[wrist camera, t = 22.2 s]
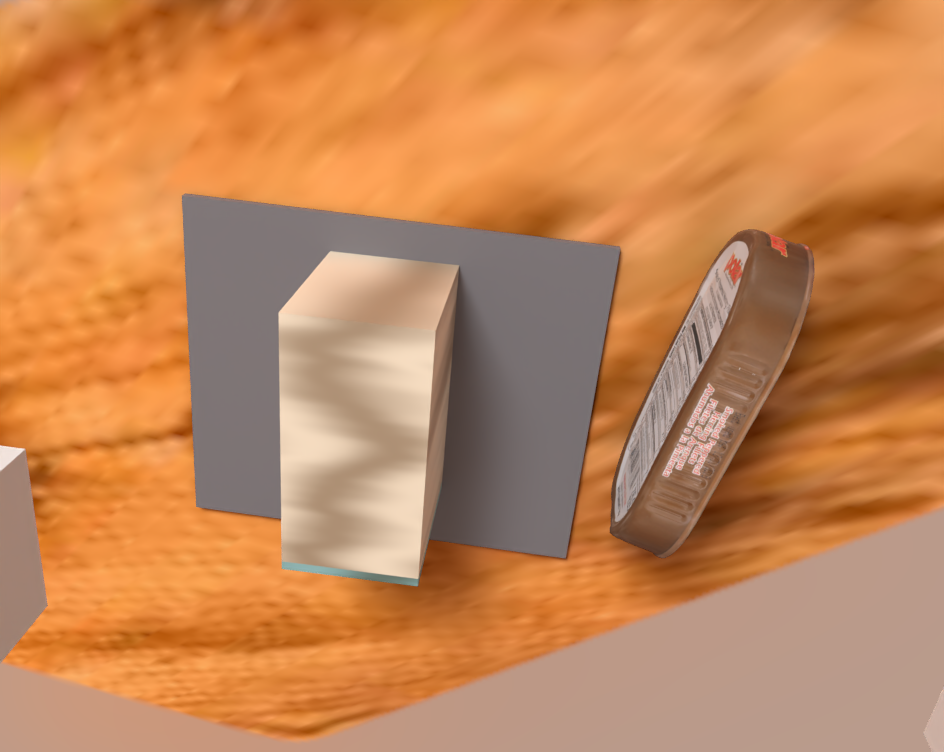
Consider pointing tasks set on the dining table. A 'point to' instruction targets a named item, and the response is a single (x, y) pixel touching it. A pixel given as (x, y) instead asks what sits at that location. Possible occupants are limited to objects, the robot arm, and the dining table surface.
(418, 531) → the block
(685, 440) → the tin
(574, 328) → the mat
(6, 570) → the robot arm
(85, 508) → the dining table surface
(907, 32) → the dining table surface
